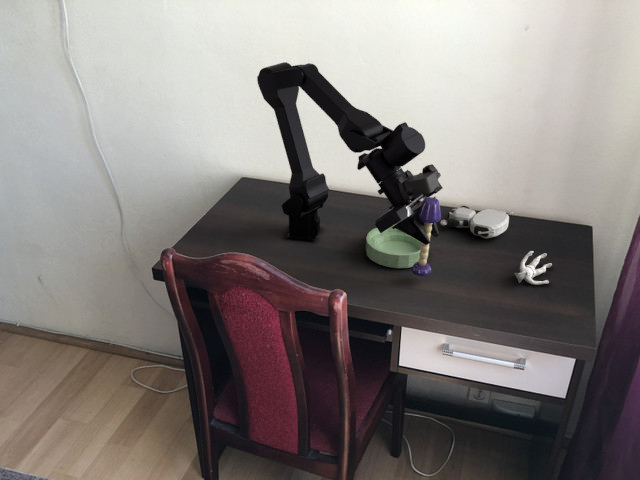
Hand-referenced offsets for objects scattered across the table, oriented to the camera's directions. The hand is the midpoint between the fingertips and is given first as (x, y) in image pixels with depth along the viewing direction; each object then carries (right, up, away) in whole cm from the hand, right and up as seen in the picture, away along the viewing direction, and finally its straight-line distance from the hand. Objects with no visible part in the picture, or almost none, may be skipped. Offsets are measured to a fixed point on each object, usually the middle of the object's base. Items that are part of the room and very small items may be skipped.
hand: (432, 239), depth 141 cm
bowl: (-6, -2, +17) cm, 18 cm away
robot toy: (+14, +5, +27) cm, 31 cm away
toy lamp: (-1, -6, +5) cm, 8 cm away
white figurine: (+23, -7, +10) cm, 26 cm away
